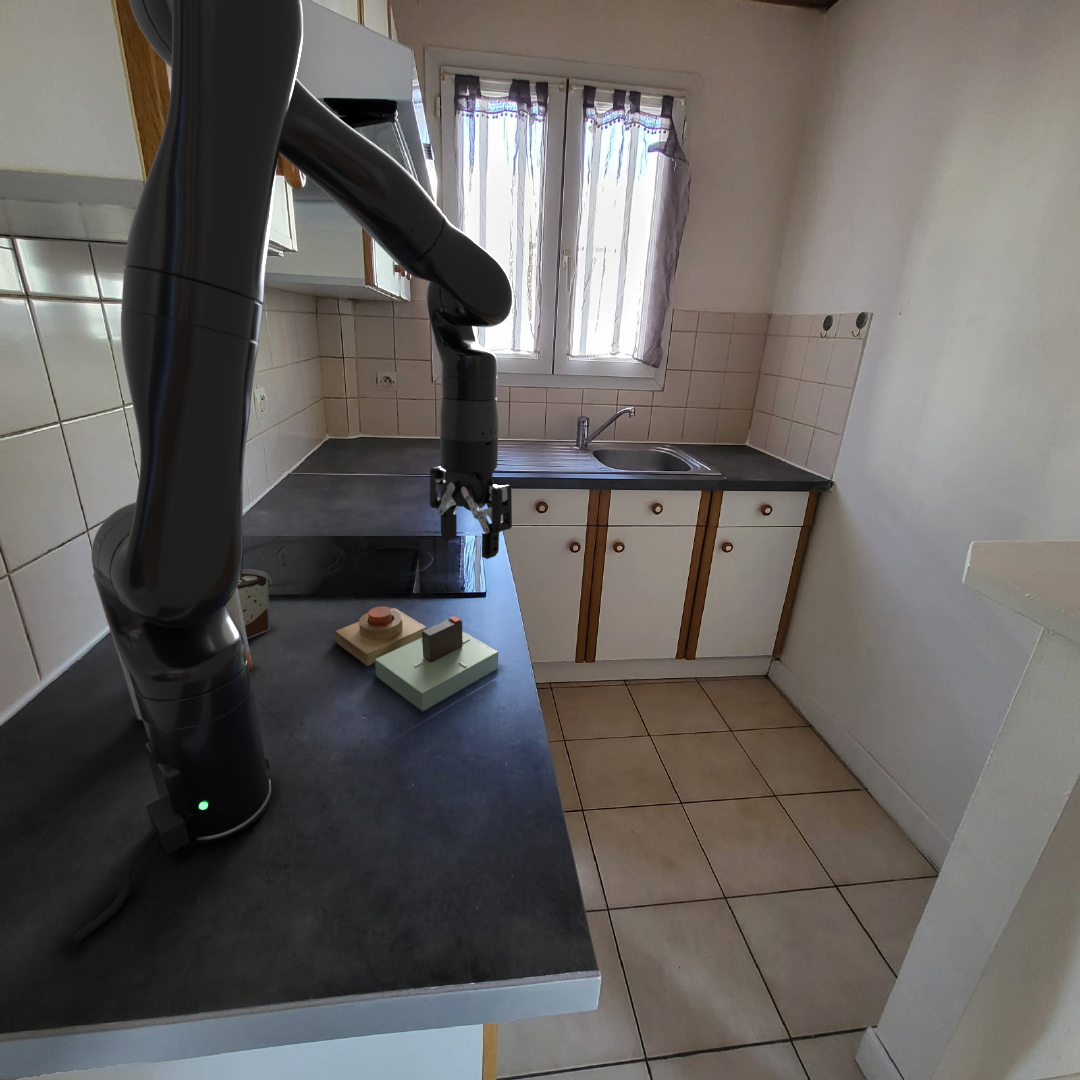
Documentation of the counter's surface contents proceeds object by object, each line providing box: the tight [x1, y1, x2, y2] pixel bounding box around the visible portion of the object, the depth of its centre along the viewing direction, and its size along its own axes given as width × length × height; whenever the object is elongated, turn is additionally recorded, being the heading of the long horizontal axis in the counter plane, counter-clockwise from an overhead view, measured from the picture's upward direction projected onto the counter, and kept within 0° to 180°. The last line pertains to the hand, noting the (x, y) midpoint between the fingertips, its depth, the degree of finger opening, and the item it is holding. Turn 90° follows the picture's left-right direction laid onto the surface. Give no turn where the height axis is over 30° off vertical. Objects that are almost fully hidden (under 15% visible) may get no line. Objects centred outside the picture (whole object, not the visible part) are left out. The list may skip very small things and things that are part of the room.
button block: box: [334, 607, 428, 667], centre depth 89 cm, size 11×9×4 cm
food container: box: [237, 568, 273, 640], centre depth 88 cm, size 12×6×10 cm, turn 141°
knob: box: [422, 615, 463, 663], centre depth 81 cm, size 6×2×5 cm, turn 138°
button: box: [367, 605, 393, 626], centre depth 88 cm, size 4×4×2 cm
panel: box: [374, 630, 499, 712], centre depth 82 cm, size 14×11×3 cm
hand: (468, 547), depth 78 cm, fingers open, 8 cm apart
